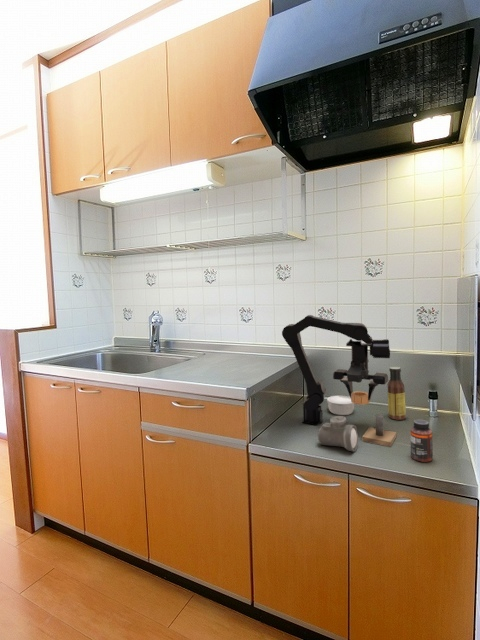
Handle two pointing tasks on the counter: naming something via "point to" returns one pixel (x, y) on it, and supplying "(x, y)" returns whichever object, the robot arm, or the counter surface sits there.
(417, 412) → the counter surface
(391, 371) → the sauce bottle
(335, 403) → the ramekin
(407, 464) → the counter surface
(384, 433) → the shaft post
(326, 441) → the pipe fitting
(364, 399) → the ring
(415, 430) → the supplement bottle
